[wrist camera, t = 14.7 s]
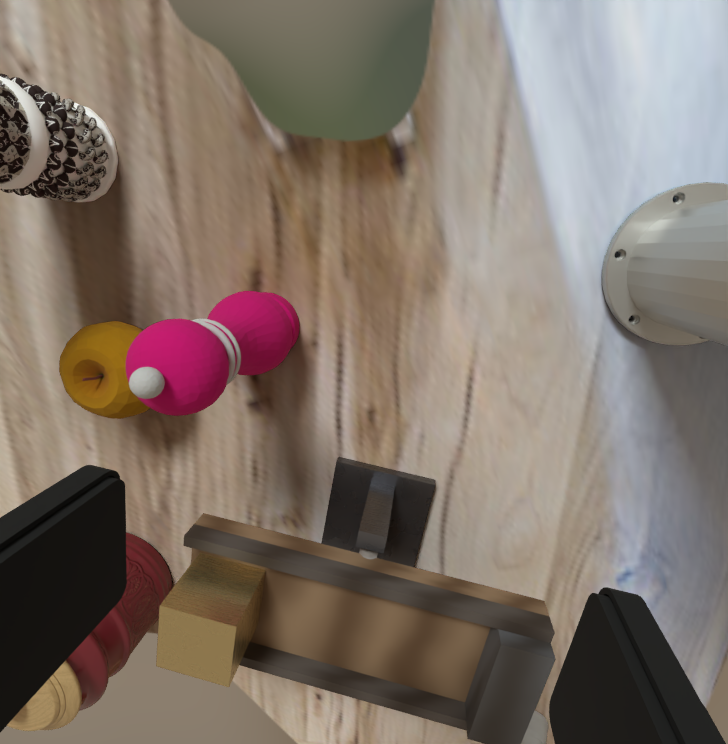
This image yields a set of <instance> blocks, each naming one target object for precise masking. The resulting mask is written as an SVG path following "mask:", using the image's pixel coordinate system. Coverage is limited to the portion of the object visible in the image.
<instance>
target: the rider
mask: <svg viewBox="0 0 728 744" xmlns="http://www.w3.org/2000/svg"><path fill="white" fill-rule="evenodd" d="M265 571H266V570H264V569H260V568H257V567H253V566H249V565H245V564H241V563H238V562H234V561H230V560H226V559H222V558H219V557H215V556H211V555H207V554H204V553H199V554H198V556H197V557H196V558H195V560H194V561H193V562H192V564H191V565H190V566H189V568H188V569H187V570H186V572H185V573H184V574H183V576H182V577H181V578H180V579H179V581H178V582H177V583H176V585H175V586H174V587H173V589H172V590H171V591H170V593H169V594H168V595H167V597H166V598H165V599H164V601H163V602H162V603H161V604H160V608H159V626H158V644H157V661H156V662H157V663H156V666H158V667H161V668H165V669H168V670H172V671H175V672H179V673H182V674H186V675H189V676H192V677H195V678H199V679H202V680H206V681H210V682H213V683H216V684H219V685H223V686H227V687H229V686H230V684H231V682H232V680H233V677H234V675H235V673H236V671H237V669H238V667H239V664H240V662H241V660H242V658H243V656H244V654H245V651H246V649H247V647H248V645H249V643H250V641H251V638H252V636H253V634H254V632H255V630H256V628H257V625H258V621H259V614H260V607H261V600H262V593H263V586H264V578H265Z"/></svg>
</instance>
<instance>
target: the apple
mask: <svg viewBox="0 0 728 744" xmlns="http://www.w3.org/2000/svg"><path fill="white" fill-rule="evenodd" d="M142 331H143V330H142V329H140V328H138V327H136V326H133V325H129V324H126V323H123V322H118V321H110V322H103V323H98V324H93V325H89V326H86V327H83V328H82V329H81V330H79V331H78V332H77V333H76V334H75V335H74V336H73V337H72V338H71V339H70V340H69V341H68V342H67V344H66V346H65V348H64V350H63V352H62V354H61V356H60V368H59V372H60V375H61V378H62V381H63V384H64V387H65V390H66V392H67V393H68V394H69V396H70V397H71V398H72V400H73V401H74V402H75V403H77V404H78V405H80V406H81V407H82V408H84V409H85V410H87V411H90V412H92V413H94V414H97V415H100V416H104V417H108V418H117V419H121V418H125V417H130V416H134V415H137V414H140V413H143V412H146V411H147V410H148V409H150V407H148V406H146V405H145V404H144V403H143V402H142V401H140V400H139V399H138V397H137V396H136V395H135V394H134V393H133V392H132V391H131V390H130V387H129V382H128V379H127V375H126V356H127V352H128V350H129V347H130V345H131V344H132V342H133V340H134V339H135V338H136V337H137V336H138V335H139V333H140V332H142Z"/></svg>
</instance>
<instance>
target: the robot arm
mask: <svg viewBox="0 0 728 744" xmlns="http://www.w3.org/2000/svg"><path fill="white" fill-rule="evenodd" d="M673 196H675V197H676V201H675V202H673ZM615 252H618V253H619V256H618V257H617V258H615V257H614V256H615ZM602 287H603V291H604V295H605V300H606V302H607V304H608V306H609V308H610V310H611V312H612V314H613V315H614V316H615V317H616V319H617V320H618V321H619V323H621V324H622V325H623V326H624V327H625V328H627V329H628V330H629V331H630V332H632V333H634V334H636V335H638V336H640V337H641V338H644V339H646V340H649V341H652V342H654V343H659V344H664V345H675V346H686V345H693V344H699V343H703V342H706V341H710V340H711V341H714V342H717V343H720V344H723V345H726V346H728V184H724V183H710V182H705V183H696V184H689V185H685V186H681V187H677V188H674V189H671V190H668V191H666V192H663V193H661V194H658V195H657V196H655V197H653V198H652V199H650V200H648V201H647V202H645V203H643V204H642V205H641V206H640V207H639V208H637V209H636V210H635V211H634V212H633V213H632V214H630V215H629V217H628V218H627V219H626V220H625V221H624V222H623V224H622V225H621V226H620V227H619V228H618V230H617V232H616V233H615V235H614V237H613V238H612V240H611V242H610V244H609V247H608V250H607V252H606V255H605V258H604V264H603V269H602ZM630 316H632V317H633V319H632V320H631V321H629V318H630ZM126 584H127V570H126V511H125V483H124V482H123V481H122V480H120V476H119V474H118V472H116V471H114V470H109V469H105V468H101V467H97V466H93V465H86V466H84V467H82V468H80V469H79V470H77V471H75V472H74V473H72V474H70V475H69V476H67V477H66V478H64V479H62V480H61V481H59V482H57V483H56V484H54V485H53V486H51V487H49V488H48V489H46V490H44V491H43V492H41V493H40V494H38V495H36V496H35V497H33V498H31V499H30V500H28V501H27V502H25V503H23V504H22V505H20V506H19V507H17V508H15V509H14V510H12V511H10V512H9V513H7V514H6V515H4V516H2V517H1V518H0V732H1V731H2V730H3V729H4V727H6V726H7V724H8V723H9V722H10V721H11V720H12V719H13V718H14V717H15V716H16V715H17V713H18V712H19V711H20V710H21V709H22V708H23V707H24V706H25V705H26V704H27V702H28V701H29V700H30V699H31V698H32V697H33V696H34V695H35V694H36V693H37V691H38V690H39V689H40V688H41V687H42V686H43V685H44V684H45V683H46V682H47V680H48V679H49V678H50V677H51V676H52V675H53V674H54V673H55V672H56V671H57V669H58V668H59V667H60V666H61V665H62V664H63V663H64V662H65V661H66V660H67V658H68V657H69V656H70V655H71V654H72V653H73V652H74V651H75V650H76V649H77V647H78V646H79V645H80V644H81V643H82V642H83V641H84V640H85V639H86V638H87V636H88V635H89V634H90V633H91V632H92V631H93V630H94V629H95V628H96V627H97V625H98V624H99V623H100V622H101V621H102V620H103V619H104V618H105V617H106V616H107V614H108V613H109V612H110V611H111V610H112V609H113V608H114V607H115V606H116V605H117V603H118V602H119V601H120V599H121V598H122V596H123V594H124V592H125V589H126ZM549 714H550V723H551V728H552V732H553V736H554V741H555V744H726V743H725V741H724V740H723V738H722V736H721V735H720V733H719V731H718V729H717V727H716V726H715V724H714V722H713V721H712V719H711V717H710V715H709V713H708V711H707V710H706V708H705V707H704V705H703V704H702V702H701V701H700V699H699V697H698V695H697V694H696V692H695V690H694V688H693V686H692V685H691V683H690V681H689V679H688V678H687V676H686V674H685V672H684V670H683V669H682V667H681V665H680V663H679V662H678V660H677V658H676V656H675V655H674V653H673V651H672V649H671V647H670V646H669V644H668V642H667V640H666V639H665V637H664V635H663V633H662V631H661V630H660V628H659V626H658V624H657V623H656V621H655V619H654V617H653V616H652V614H651V612H650V610H649V608H648V607H647V605H646V603H645V601H644V600H643V599H642V598H641V597H640V596H638V595H636V594H632V593H628V592H623V591H619V590H615V589H611V588H603V589H601V590H600V592H599V594H596V593H592V594H591V595H590V596H589V598H588V600H587V602H586V605H585V608H584V610H583V613H582V616H581V618H580V621H579V624H578V626H577V629H576V632H575V634H574V637H573V640H572V643H571V645H570V648H569V651H568V653H567V656H566V659H565V661H564V664H563V667H562V669H561V672H560V675H559V677H558V680H557V683H556V685H555V688H554V691H553V693H552V696H551V700H550V706H549Z"/></svg>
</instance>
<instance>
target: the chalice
mask: <svg viewBox="0 0 728 744" xmlns="http://www.w3.org/2000/svg"><path fill="white" fill-rule="evenodd" d="M547 731H548V722H547V720H546V718H545V717H544V716H543V715H542V714H541V713H539V712H537V711H534V713H533V716H532V718H531V721H530V723H529V725H528V728H527V730H526V733H525V735H524V738H523V740H522V743H521V744H546V739H547Z"/></svg>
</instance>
